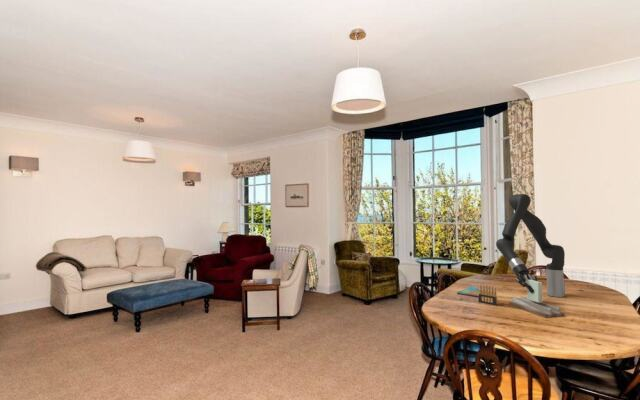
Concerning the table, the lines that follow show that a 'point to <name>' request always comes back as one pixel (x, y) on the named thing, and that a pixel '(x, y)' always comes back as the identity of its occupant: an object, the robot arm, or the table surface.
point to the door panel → (535, 291)
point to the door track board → (536, 307)
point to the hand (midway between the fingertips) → (535, 292)
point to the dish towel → (470, 292)
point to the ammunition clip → (487, 294)
